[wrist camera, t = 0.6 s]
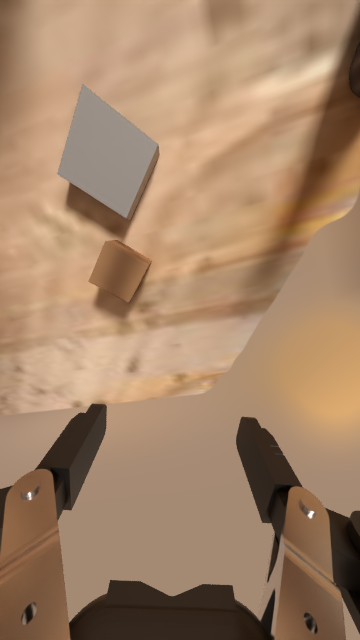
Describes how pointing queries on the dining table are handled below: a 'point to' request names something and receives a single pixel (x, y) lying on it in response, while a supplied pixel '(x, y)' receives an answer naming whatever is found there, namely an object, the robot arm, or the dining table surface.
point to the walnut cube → (119, 269)
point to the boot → (355, 73)
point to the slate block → (107, 155)
